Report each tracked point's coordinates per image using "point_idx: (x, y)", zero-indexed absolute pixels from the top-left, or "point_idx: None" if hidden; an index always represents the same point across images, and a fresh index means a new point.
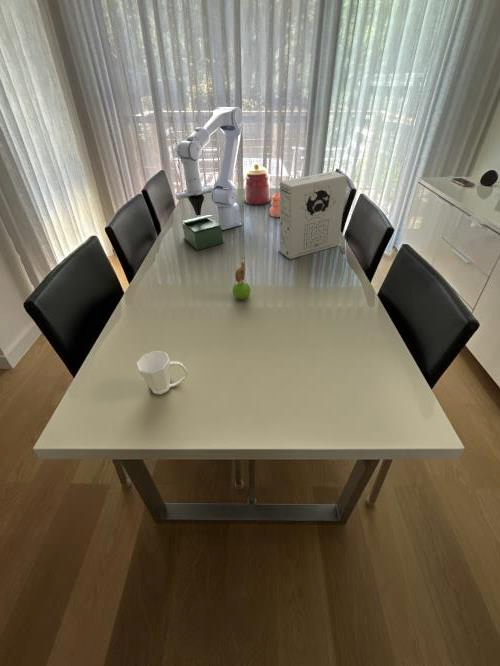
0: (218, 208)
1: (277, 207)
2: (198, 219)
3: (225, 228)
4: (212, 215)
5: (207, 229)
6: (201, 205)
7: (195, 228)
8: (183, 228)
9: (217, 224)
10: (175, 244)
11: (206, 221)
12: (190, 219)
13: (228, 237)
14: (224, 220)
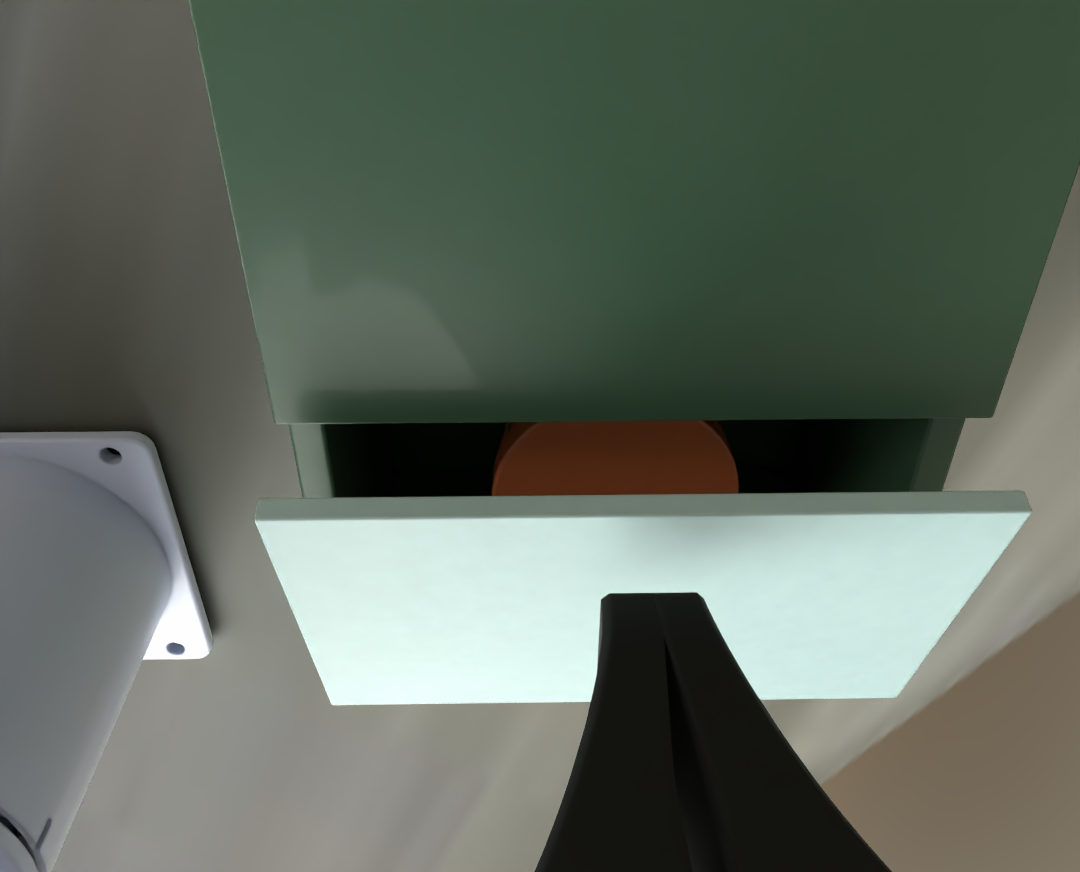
0: (18, 801)
1: None
2: (696, 501)
3: (83, 437)
4: (265, 517)
5: (405, 495)
6: (575, 820)
7: (957, 178)
8: None
9: (276, 56)
10: (1039, 369)
11: None
12: (747, 668)
13: (113, 89)
14: (26, 556)
